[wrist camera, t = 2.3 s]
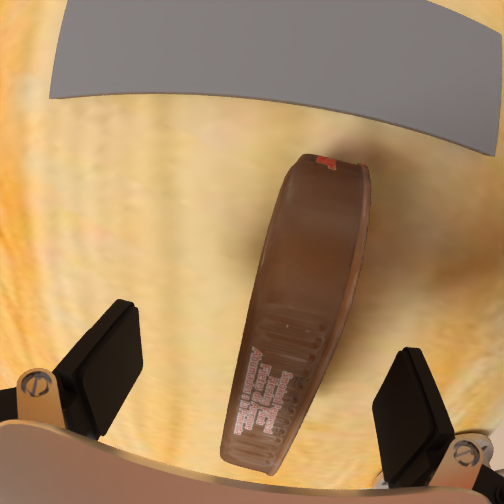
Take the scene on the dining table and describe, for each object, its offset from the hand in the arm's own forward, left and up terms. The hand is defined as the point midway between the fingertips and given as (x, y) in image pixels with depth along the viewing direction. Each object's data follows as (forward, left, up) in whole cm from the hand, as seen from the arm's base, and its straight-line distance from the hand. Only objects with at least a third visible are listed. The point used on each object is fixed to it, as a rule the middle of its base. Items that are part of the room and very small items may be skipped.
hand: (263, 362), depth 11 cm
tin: (-1, +1, -7) cm, 7 cm away
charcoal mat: (+2, -12, -7) cm, 14 cm away
